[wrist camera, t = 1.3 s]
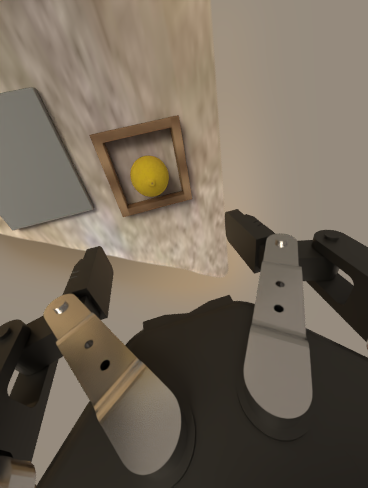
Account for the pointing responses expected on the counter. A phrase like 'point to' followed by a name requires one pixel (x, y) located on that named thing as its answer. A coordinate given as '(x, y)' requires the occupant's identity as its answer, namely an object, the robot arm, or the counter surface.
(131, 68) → the counter surface
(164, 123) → the walnut collar
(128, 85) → the counter surface
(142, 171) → the lemon
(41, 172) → the grey rectangular plate
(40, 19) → the counter surface
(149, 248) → the counter surface
